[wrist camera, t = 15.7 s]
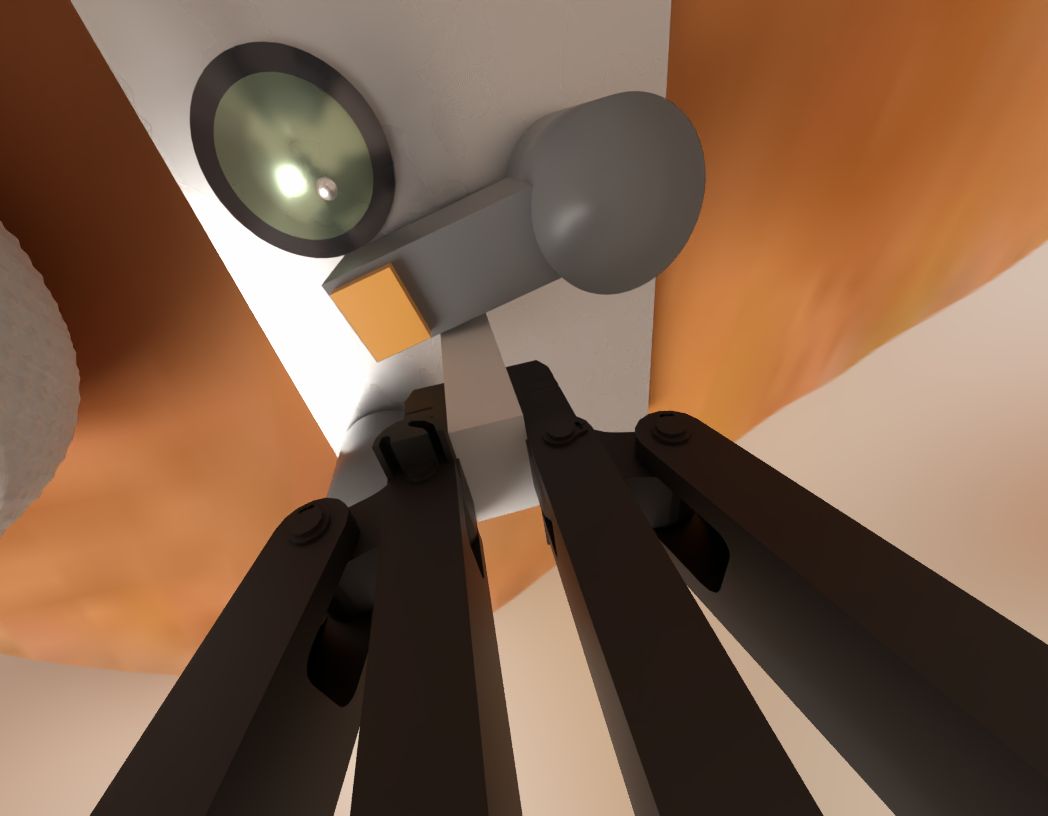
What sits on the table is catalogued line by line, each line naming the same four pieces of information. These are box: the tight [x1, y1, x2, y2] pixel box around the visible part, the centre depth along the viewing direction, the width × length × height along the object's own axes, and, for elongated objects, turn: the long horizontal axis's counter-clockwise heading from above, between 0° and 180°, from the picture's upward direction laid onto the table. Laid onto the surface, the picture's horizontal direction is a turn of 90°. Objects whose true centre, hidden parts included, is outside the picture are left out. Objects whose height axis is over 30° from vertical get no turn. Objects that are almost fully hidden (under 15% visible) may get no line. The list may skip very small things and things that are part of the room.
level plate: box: [70, 0, 671, 457], centre depth 12 cm, size 28×15×2 cm, turn 8°
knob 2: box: [321, 91, 705, 363], centre depth 11 cm, size 10×4×4 cm, turn 111°
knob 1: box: [327, 411, 405, 507], centre depth 17 cm, size 10×4×4 cm, turn 143°
